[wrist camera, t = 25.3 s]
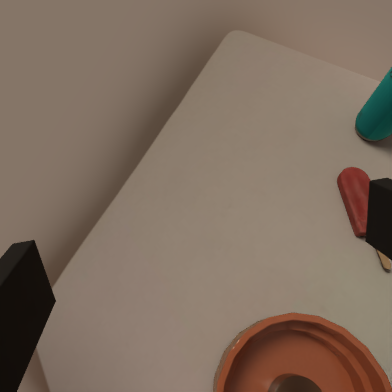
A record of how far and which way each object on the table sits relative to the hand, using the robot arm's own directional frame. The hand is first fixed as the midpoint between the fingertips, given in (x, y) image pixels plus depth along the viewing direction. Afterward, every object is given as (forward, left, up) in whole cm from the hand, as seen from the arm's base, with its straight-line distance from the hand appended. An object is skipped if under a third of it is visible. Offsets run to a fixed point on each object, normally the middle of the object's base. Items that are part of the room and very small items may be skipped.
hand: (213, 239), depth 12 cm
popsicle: (+25, +8, -30) cm, 40 cm away
